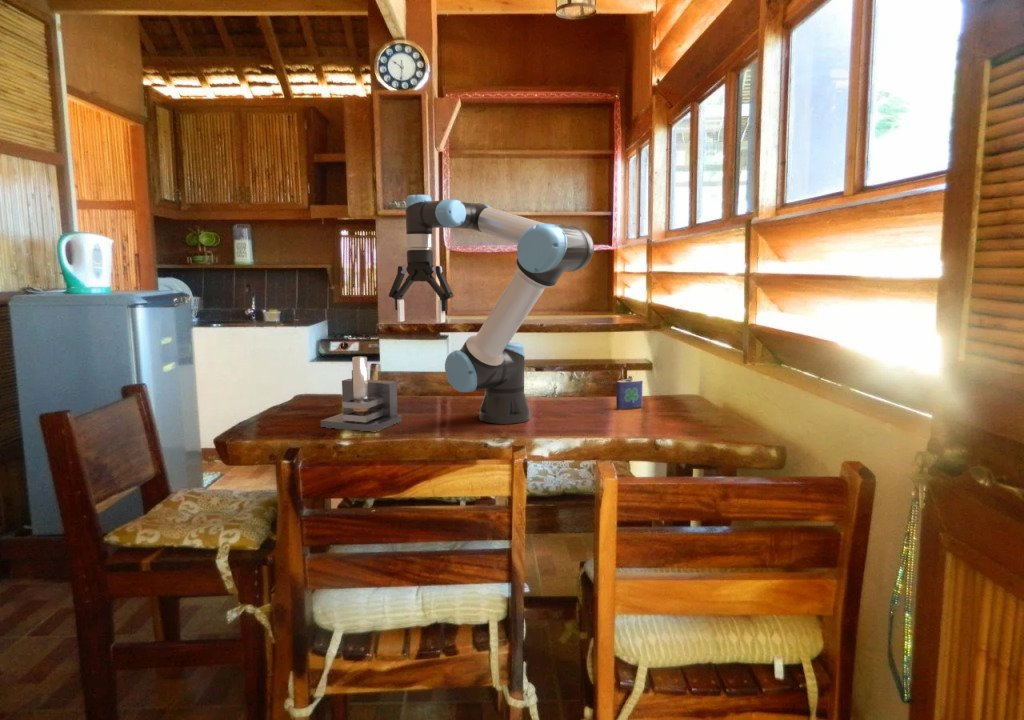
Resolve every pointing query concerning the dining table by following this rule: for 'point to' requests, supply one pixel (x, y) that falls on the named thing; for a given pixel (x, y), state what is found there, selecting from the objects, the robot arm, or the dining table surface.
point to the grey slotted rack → (379, 405)
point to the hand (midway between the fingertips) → (421, 322)
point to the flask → (629, 394)
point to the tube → (360, 383)
